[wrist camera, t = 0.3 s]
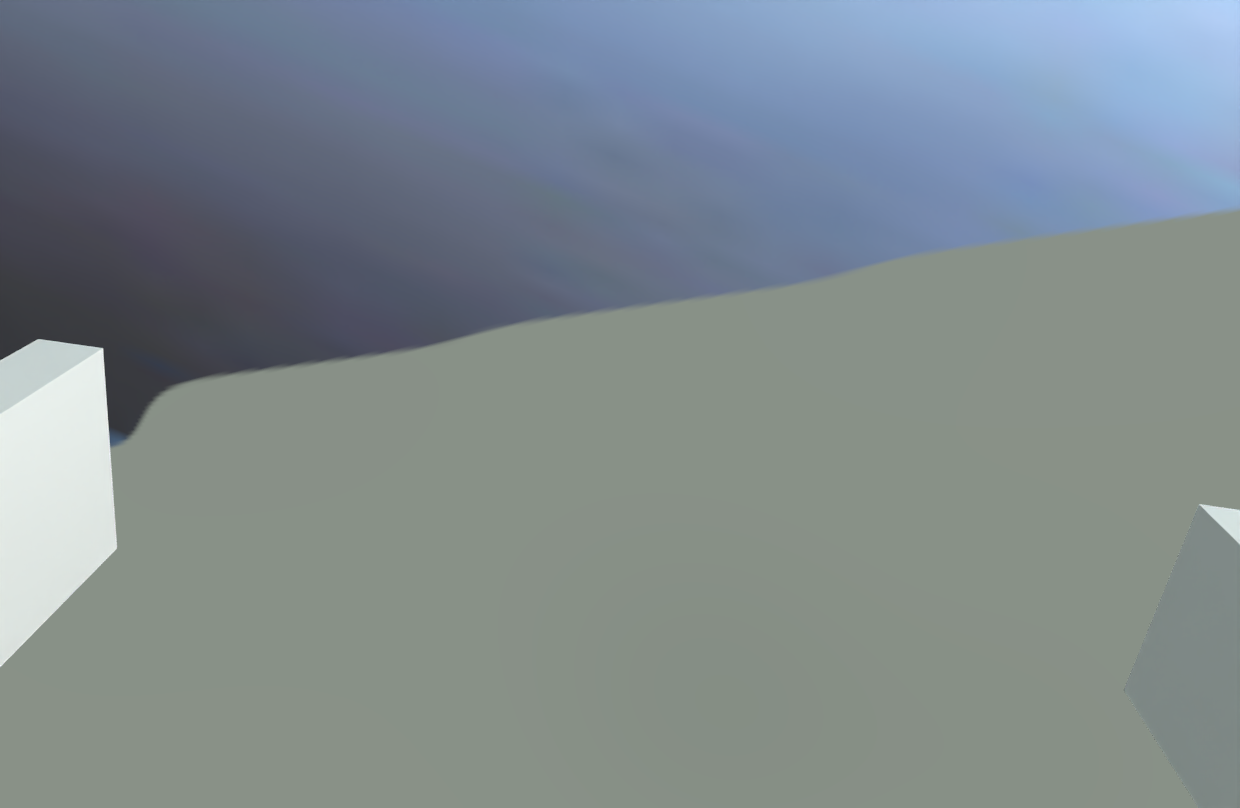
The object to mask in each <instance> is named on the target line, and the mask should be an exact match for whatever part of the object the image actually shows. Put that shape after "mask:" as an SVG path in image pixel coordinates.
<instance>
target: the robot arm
mask: <svg viewBox="0 0 1240 808" xmlns="http://www.w3.org/2000/svg"><path fill="white" fill-rule="evenodd" d="M116 549H117V541H116V526H115V512H114V499H113V484H112V470H111V457H110V442H109V428H108V414H107V400H106V386H105V371H104V357H103V348H97V347H90V346H83V345H76V344H69V343H62V342H55V341H48V340H41V339H38V340H36V341H34V342H32V343H31V344H29V345H27V346H25V347H24V348H22V349H20V350H18V351H16V352H15V353H13V354H11V355H9V356H8V357H6V358H4V359H2V360H0V666H2V665H3V664H4V663H5V662H6V661H7V660H8V659H9V657H11V656H12V655H13V653H15V651H16V650H17V649H18V648H19V647H20V646H21V645H22V644H23V643H24V642H25V641H26V640H27V639H28V638H29V637H30V636H31V635H32V634H33V633H34V632H35V631H36V630H37V629H38V628H39V627H40V626H41V625H42V624H43V623H44V622H45V621H46V620H47V619H48V618H49V617H50V616H51V615H52V614H53V613H54V612H55V611H56V610H57V609H58V608H59V607H60V606H61V605H62V604H63V603H64V602H65V601H66V600H67V598H68V597H70V596H71V594H72V593H74V591H76V590H77V588H78V587H79V586H80V585H81V584H82V583H83V582H84V581H85V580H86V579H87V578H88V577H89V576H90V575H91V574H92V573H93V572H94V571H95V570H96V569H97V568H98V567H99V566H100V565H101V564H102V563H103V562H104V561H105V560H106V559H107V558H108V557H109V556H110V555H111V554H112V553H113V552H114V551H115V550H116ZM1124 692H1125V693H1126V695H1127V696H1128V698H1129V699H1130V701H1131V703H1132V704H1133V706H1134V707H1135V709H1136V711H1137V712H1138V714H1139V715H1140V717H1141V718H1142V720H1143V721H1144V723H1145V725H1146V726H1147V728H1148V729H1149V731H1150V733H1151V734H1152V736H1153V737H1154V739H1155V740H1156V742H1157V744H1158V745H1159V747H1160V748H1161V750H1162V752H1163V753H1164V755H1165V756H1166V758H1167V759H1168V761H1169V762H1170V764H1171V766H1172V767H1173V769H1174V770H1175V772H1176V774H1177V775H1178V777H1179V778H1180V780H1181V781H1182V783H1183V785H1184V786H1185V788H1186V789H1187V791H1188V792H1189V794H1190V796H1191V797H1192V799H1193V800H1194V802H1195V804H1196V805H1197V807H1198V808H1240V510H1236V509H1229V508H1222V507H1215V506H1208V505H1201V504H1199V506H1198V508H1197V511H1196V513H1195V516H1194V518H1193V521H1192V523H1191V526H1190V528H1189V531H1188V533H1187V536H1186V538H1185V540H1184V543H1183V545H1182V548H1181V550H1180V553H1179V555H1178V558H1177V560H1176V563H1175V565H1174V567H1173V570H1172V573H1171V575H1170V578H1169V580H1168V582H1167V585H1166V587H1165V590H1164V592H1163V595H1162V597H1161V599H1160V602H1159V604H1158V607H1157V609H1156V612H1155V614H1154V617H1153V620H1152V622H1151V624H1150V627H1149V629H1148V632H1147V634H1146V637H1145V639H1144V641H1143V644H1142V646H1141V649H1140V651H1139V654H1138V656H1137V659H1136V661H1135V664H1134V666H1133V669H1132V671H1131V673H1130V676H1129V678H1128V681H1127V683H1126V686H1125V688H1124Z"/></svg>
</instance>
